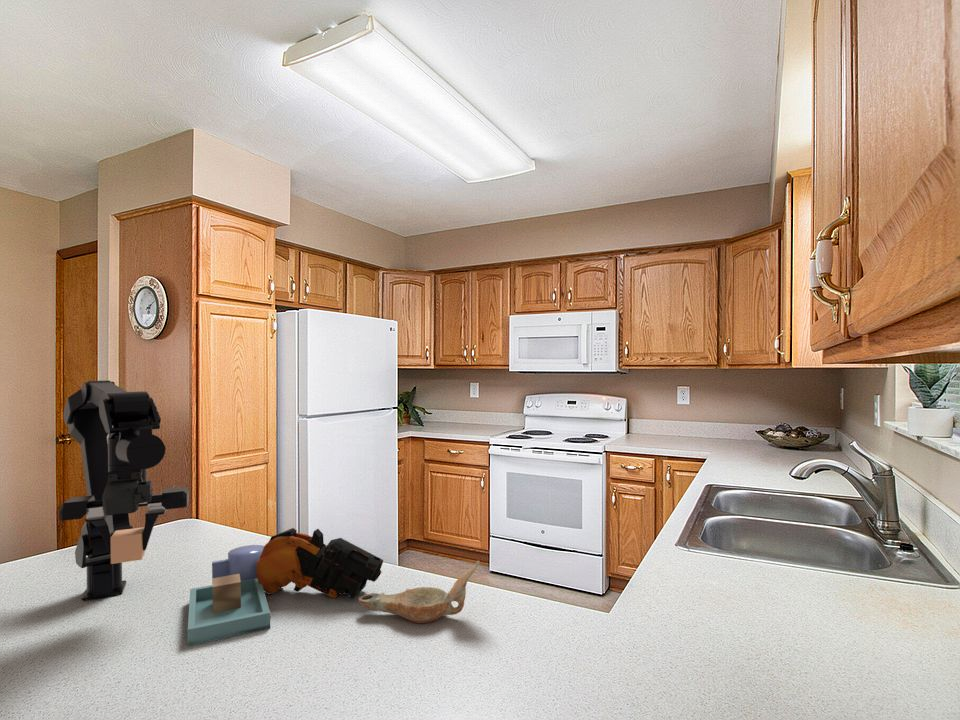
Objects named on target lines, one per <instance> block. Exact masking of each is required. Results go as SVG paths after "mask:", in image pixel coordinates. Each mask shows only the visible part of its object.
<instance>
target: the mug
mask: <svg viewBox="0 0 960 720" xmlns="http://www.w3.org/2000/svg"><path fill="white" fill-rule="evenodd" d="M264 546H265V545H262V544H250V545H248V544H247V545H243V546H237V547H235V548H233V549H230V550H229V551H228V553H227V558H226V559H221V560H213V561H211V573H212V574H211V576H212V577H211V579H212V578H217V577H223V576H229V575H235V574H240V580H249V579H254V578H257V573H256V569H257V568H256V566H257V561H258V559H259V557H260V556H261V553H262V551H263V548H264Z"/></svg>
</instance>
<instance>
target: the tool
mask: <svg viewBox="0 0 960 720" xmlns="http://www.w3.org/2000/svg"><path fill="white" fill-rule="evenodd" d="M324 542H325V541H324V533H323V532H322V531H321V530H320V528H317V529H315V530H313V533H312V536H311V535H308V534H305V533H300V532H297V529H296V528H294V527H292V528H289V529H287V530H284V531H282V532H280V533H277V534H275V535H272V536H271V537H270V539H269V541H268V542H267V543H266V544H265V545H263V546H264V548H263V551H262V553H261V556H260V557H259V559H258V561H257V566H256V568H257V569H256V573H257V579H258V582H259V584H262V585H263V589H264V593H265V594H267V595H268V594H269V595H272V594H276V593H277V592H278V590H279V589H282V588H285V587H287V586H288V585H289V584H290V583H293V584H294V585H295V586H294V587H293V591H294V592H297V593H298V592H300V591H301V590H303V589H304V588H306V587H310V588H311V589H314V590H316V591H317V592H320V593H322V594H324V595H326V596H328V597H330V598H333V599H336V598H337V596H338V594H340V595H341V596H343V595H344V594H346V595H348V596H349V598H352V599H355V598H356V597H357V596H359V595H360V594H361V592H362V591H363V590H364V589H365V588H366V585H367V582H368V581H369V582H370V581H371V582H372V583H374V582H376V581H377V580H378V579H379V578H380V576H381V574H382V570H381V569H382V566H383V563H384V559H382V558H381V557H378V556H377V555H374V554H372V553H371V552H368V551H367V550H365V549H363V548H361V547H359V546H357V545H355V544H353V543H351V542H350V541H348V540H346V539H344V538H341V537H339V538H338V537H337V538H334V539H330V541H329V542H328V543H327V544H325V543H324Z"/></svg>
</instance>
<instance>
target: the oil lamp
mask: <svg viewBox="0 0 960 720" xmlns="http://www.w3.org/2000/svg"><path fill="white" fill-rule="evenodd" d="M480 563H481V562H480V560H477V561H476V562H475V564H473V565H472V566H471V567H470V568H468V569H467V570H466V571H465V572H463V574H462V575H461V576H460V577H458V578H457V580H456V581H455V582H454V584H453V585H452V587H451V588H450V590H449V591H445V590H443V589H441V588H438V587H431V586H422V587H419V586H418V587H414V588H406V589H405V590H404V591H402V592H398V593H397V592H396V593H393V594H385V593H384V592H381V593H377V592H371V593H370V592H369V593H366V594H363V595H361V596H359V597H358V602H359V604H360V605H361V606H363V607H364V608H366V609H368V610H370V611H374V612H375V611H376V612H383V613H387V614H392V615H395V616H396V615H397V616H399V617H401V618H404V619H406V620H408V621H410V622H412V623H416V624H417V623H418V624H427V623H432V622H435V621H438V619H440V618H441V617H443V616H454V615H457V614H459V613H461V612H462V611H463V608H464V605H465V601H466V600H465V599H466V594H467V592H466V591H467V583H468V580H469V578H471V577H472V575H473V574H474V572H475V571H476V570H477V569H478V567H479V565H480ZM452 602H456V603H458V604H457V605H458V606H456V607H455V606H453V603H452Z"/></svg>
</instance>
